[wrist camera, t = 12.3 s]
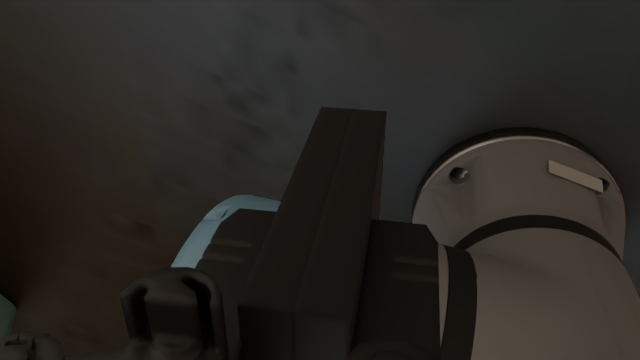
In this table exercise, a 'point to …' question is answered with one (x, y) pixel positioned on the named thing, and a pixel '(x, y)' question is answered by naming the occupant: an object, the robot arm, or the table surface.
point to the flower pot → (6, 316)
